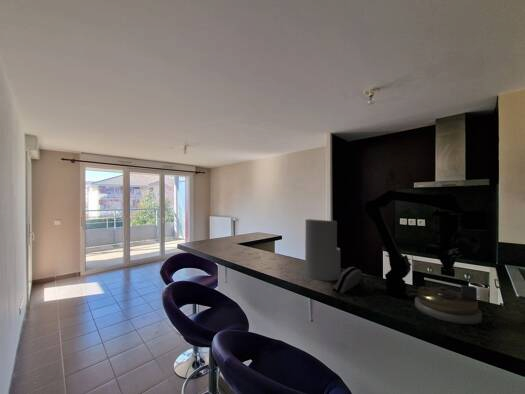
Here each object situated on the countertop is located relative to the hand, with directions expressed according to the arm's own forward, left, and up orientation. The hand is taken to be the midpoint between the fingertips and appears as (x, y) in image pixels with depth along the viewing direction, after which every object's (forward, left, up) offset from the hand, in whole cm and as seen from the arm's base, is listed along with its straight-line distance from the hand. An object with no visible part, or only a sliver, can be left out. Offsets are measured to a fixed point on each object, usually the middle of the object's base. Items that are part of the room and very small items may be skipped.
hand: (448, 272), depth 85 cm
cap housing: (+2, -5, -12) cm, 13 cm away
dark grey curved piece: (-28, -21, -12) cm, 37 cm away
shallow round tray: (+2, -5, -10) cm, 11 cm away
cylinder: (-47, -20, -12) cm, 53 cm away
